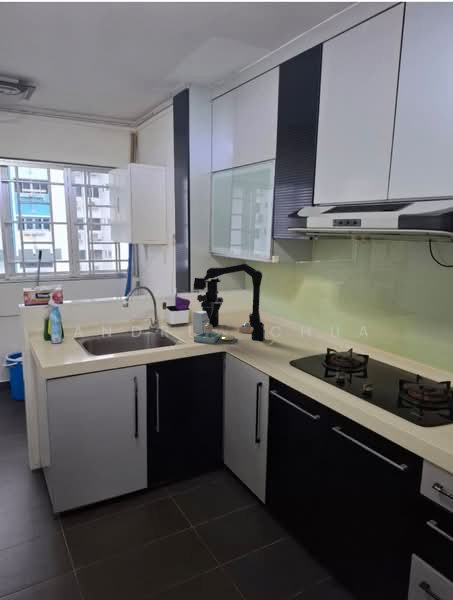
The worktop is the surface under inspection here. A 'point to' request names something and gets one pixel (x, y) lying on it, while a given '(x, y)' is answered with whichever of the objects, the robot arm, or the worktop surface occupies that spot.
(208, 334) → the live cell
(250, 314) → the robot arm
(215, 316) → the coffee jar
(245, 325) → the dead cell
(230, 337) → the brass disc
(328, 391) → the worktop surface
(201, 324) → the supplement box
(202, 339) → the teal shallow square tray
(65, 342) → the worktop surface
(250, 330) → the pink open-ended box
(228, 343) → the checker cradle
